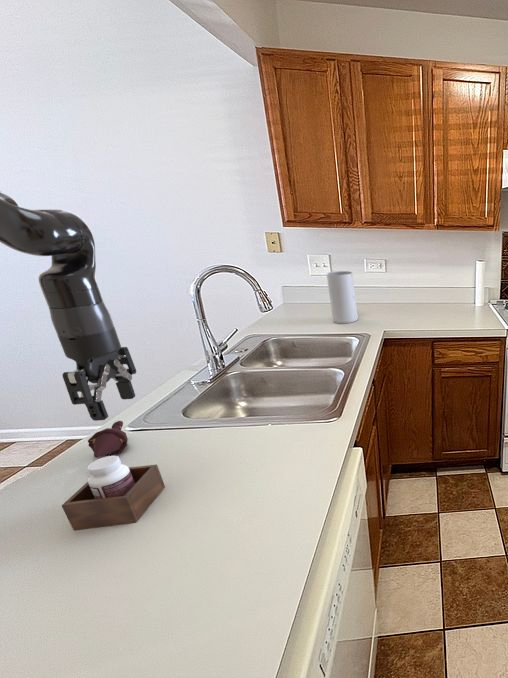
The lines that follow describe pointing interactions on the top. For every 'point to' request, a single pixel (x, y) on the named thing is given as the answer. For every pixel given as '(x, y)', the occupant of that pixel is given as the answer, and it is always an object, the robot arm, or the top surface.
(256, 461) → the top surface
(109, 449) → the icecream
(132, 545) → the top surface
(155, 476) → the box
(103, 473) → the pill bottle
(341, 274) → the cylinder vase
